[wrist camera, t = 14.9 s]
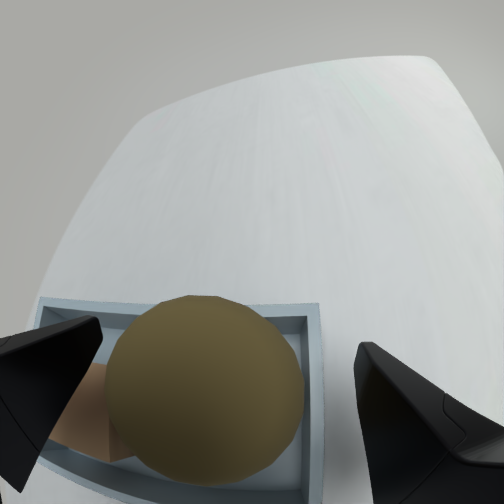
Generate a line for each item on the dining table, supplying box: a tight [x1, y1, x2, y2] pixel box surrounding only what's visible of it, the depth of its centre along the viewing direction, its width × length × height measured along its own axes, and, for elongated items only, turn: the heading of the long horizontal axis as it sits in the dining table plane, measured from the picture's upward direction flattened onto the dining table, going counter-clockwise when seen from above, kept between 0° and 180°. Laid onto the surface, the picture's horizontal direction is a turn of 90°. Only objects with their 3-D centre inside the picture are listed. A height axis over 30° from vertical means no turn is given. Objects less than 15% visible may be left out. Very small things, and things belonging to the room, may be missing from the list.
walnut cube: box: [49, 362, 135, 463], centre depth 12 cm, size 5×5×5 cm
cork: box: [104, 295, 304, 487], centre depth 10 cm, size 6×6×11 cm
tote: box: [33, 297, 324, 504], centre depth 13 cm, size 11×17×5 cm, turn 89°
